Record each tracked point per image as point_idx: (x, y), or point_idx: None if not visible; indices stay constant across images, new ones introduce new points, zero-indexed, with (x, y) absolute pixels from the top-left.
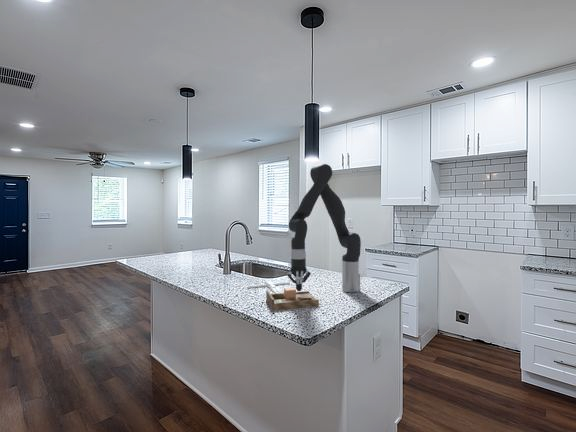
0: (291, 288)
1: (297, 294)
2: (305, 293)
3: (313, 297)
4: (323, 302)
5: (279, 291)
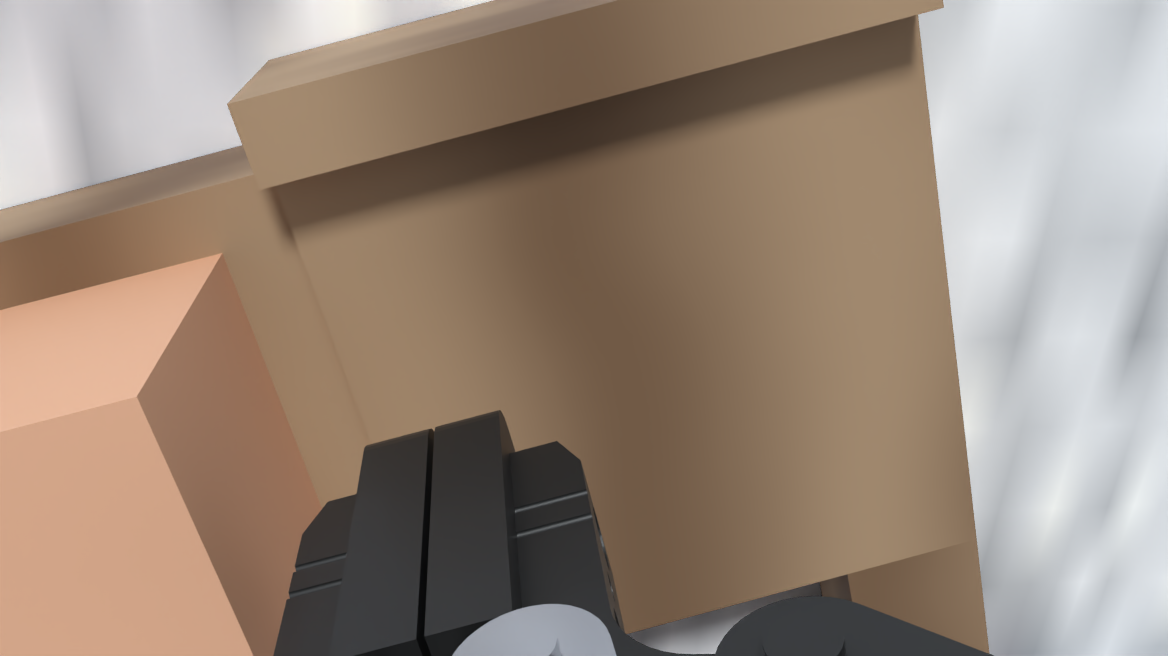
0: (60, 605)
1: (394, 228)
2: (743, 83)
3: (952, 557)
4: (1157, 520)
5: None
